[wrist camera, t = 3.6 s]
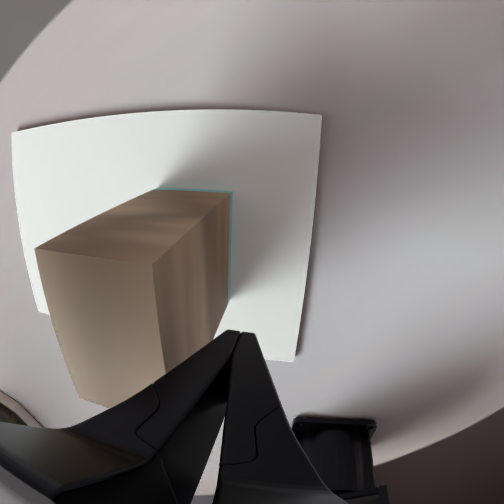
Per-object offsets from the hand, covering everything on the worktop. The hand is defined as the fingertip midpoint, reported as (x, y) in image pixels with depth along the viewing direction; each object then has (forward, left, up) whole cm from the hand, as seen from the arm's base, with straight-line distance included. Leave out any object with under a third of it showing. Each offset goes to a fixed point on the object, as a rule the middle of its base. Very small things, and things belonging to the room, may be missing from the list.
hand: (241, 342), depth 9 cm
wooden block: (+4, 0, -8) cm, 8 cm away
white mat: (+8, 0, -8) cm, 11 cm away
